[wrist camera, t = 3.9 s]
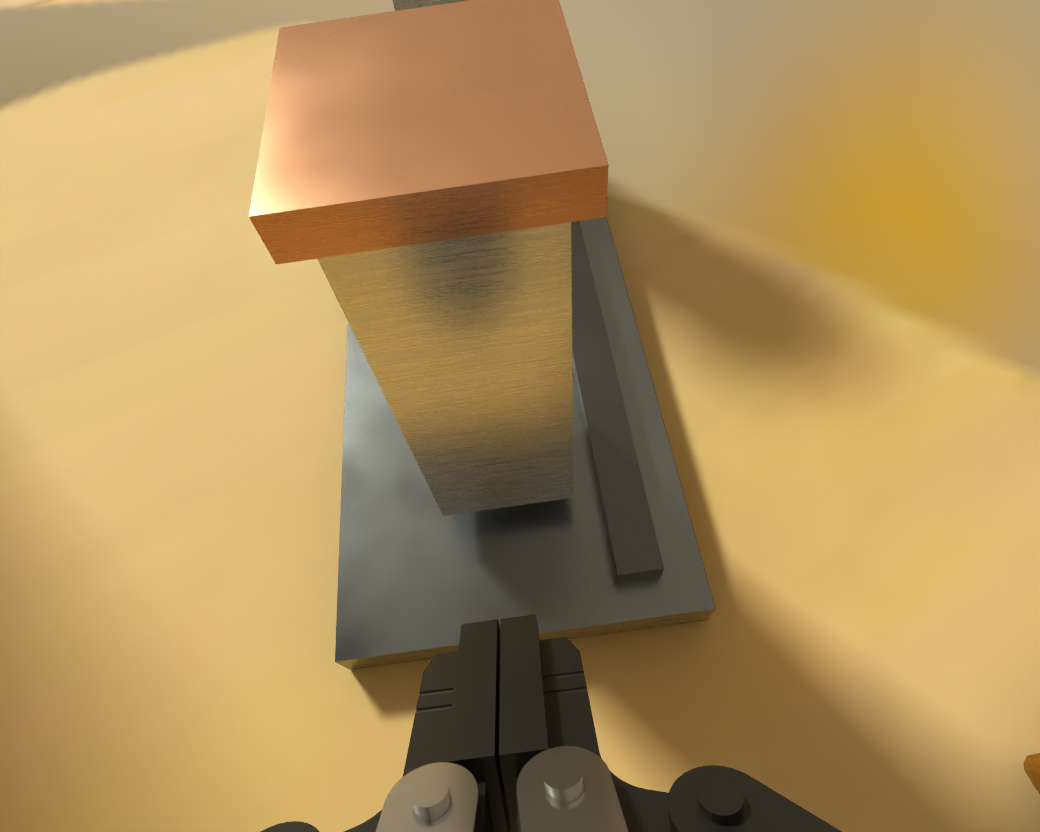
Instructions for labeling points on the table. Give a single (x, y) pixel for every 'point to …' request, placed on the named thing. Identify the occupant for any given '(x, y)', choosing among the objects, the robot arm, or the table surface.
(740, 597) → the table surface
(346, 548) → the bolt plate
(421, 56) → the sliding pointer
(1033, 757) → the gear puzzle
